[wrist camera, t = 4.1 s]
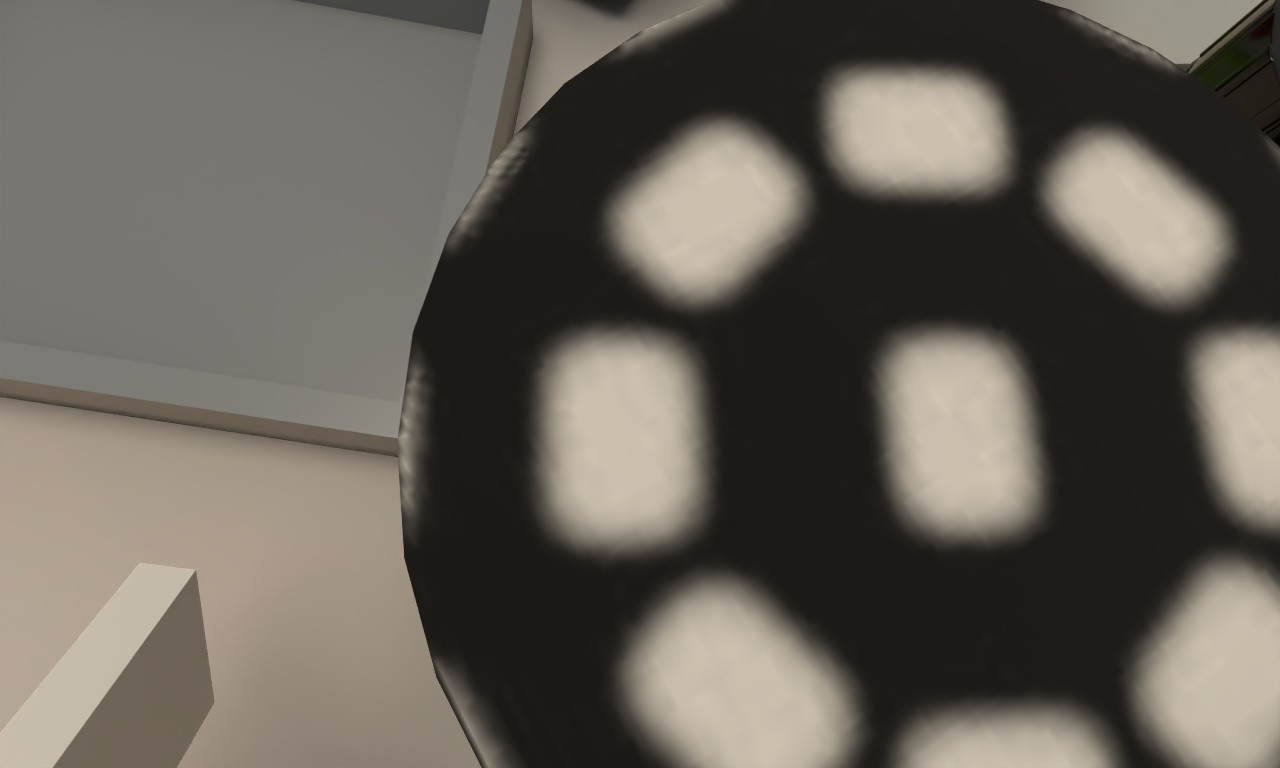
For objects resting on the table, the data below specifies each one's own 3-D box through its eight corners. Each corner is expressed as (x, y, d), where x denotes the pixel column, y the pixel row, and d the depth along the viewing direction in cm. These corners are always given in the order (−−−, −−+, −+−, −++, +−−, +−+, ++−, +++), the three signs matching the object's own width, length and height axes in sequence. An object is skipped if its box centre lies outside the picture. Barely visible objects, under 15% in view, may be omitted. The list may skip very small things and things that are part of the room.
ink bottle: (1003, 127, 31) (1268, -157, 19) (1218, 219, 31) (1615, -11, 19) (928, 348, 28) (1183, 173, 17) (1163, 451, 28) (1586, 346, 16)
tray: (532, 38, 30) (529, -34, 26) (445, 464, 26) (428, 442, 22) (-29, -64, 29) (-107, -153, 25) (-219, 363, 24) (-343, 325, 21)
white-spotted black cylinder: (522, 432, 26) (418, -47, 7) (775, 428, 27) (1319, -9, 8) (522, 708, 24) (367, 1150, 5) (797, 695, 25) (1626, 1020, 6)
